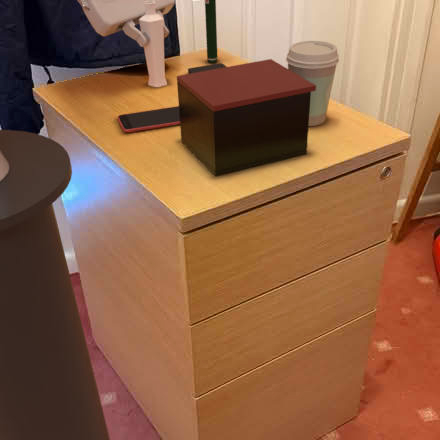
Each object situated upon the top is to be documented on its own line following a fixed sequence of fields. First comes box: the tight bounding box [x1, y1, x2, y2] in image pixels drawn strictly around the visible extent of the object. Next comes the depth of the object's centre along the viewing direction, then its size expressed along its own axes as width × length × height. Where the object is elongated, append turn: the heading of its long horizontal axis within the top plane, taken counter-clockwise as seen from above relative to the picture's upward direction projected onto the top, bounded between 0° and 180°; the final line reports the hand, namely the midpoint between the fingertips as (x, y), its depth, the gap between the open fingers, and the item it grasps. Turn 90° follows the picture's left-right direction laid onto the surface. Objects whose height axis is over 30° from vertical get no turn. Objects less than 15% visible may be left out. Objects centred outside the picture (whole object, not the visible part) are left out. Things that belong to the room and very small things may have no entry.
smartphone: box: [117, 105, 180, 133], centre depth 102 cm, size 7×1×14 cm
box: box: [176, 81, 311, 177], centre depth 90 cm, size 16×14×10 cm
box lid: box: [176, 58, 316, 112], centre depth 86 cm, size 16×14×1 cm
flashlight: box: [204, 0, 218, 64], centre depth 119 cm, size 5×5×20 cm
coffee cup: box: [285, 40, 340, 127], centre depth 97 cm, size 8×9×12 cm
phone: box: [187, 62, 228, 74], centre depth 115 cm, size 8×1×15 cm
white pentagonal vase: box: [138, 1, 168, 88], centre depth 111 cm, size 5×4×15 cm
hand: (156, 40), depth 110 cm, fingers closed on white pentagonal vase, 4 cm apart
